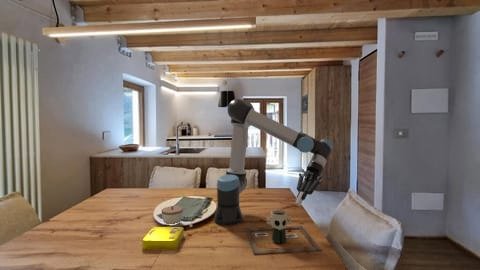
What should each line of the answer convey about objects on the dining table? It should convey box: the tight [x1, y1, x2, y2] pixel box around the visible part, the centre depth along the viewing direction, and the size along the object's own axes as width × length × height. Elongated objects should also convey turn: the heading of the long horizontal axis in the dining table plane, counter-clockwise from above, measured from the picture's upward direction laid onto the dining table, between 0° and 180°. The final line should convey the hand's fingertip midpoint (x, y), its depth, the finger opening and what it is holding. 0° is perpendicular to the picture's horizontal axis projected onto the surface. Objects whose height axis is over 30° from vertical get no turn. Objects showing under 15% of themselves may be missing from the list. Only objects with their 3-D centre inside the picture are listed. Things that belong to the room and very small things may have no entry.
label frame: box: [245, 225, 323, 256], centre depth 124 cm, size 28×25×1 cm
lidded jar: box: [161, 205, 184, 225], centre depth 143 cm, size 11×11×9 cm
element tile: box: [141, 226, 185, 251], centre depth 123 cm, size 15×15×5 cm
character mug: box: [266, 209, 292, 244], centre depth 122 cm, size 11×7×13 cm, turn 96°
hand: (297, 204), depth 131 cm, fingers closed
